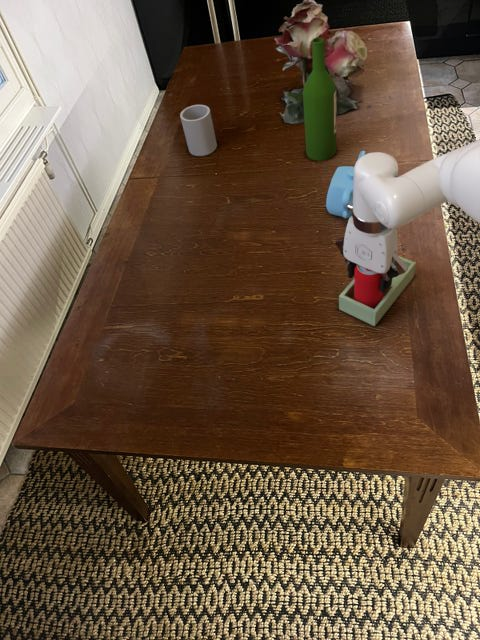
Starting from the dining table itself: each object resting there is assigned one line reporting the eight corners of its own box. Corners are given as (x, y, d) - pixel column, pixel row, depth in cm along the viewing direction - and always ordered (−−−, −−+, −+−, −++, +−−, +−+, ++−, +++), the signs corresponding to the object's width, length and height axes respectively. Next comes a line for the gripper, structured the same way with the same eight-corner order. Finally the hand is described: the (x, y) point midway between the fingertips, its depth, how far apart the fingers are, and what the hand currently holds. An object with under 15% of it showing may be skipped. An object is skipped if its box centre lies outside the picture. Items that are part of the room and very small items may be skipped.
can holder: (413, 276, 122) (416, 262, 119) (374, 326, 115) (375, 313, 111) (378, 262, 127) (379, 248, 123) (338, 309, 119) (338, 295, 116)
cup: (186, 143, 171) (178, 109, 162) (213, 136, 172) (206, 101, 162) (191, 158, 165) (182, 124, 156) (219, 151, 166) (212, 116, 157)
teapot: (384, 186, 144) (387, 149, 135) (368, 230, 134) (370, 193, 125) (339, 181, 148) (339, 145, 139) (321, 223, 138) (320, 187, 129)
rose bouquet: (373, 107, 169) (378, 5, 146) (285, 128, 169) (276, 30, 146) (348, 71, 185) (349, -25, 162) (267, 90, 185) (257, -3, 162)
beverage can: (382, 292, 119) (385, 254, 110) (382, 313, 116) (385, 276, 106) (354, 291, 121) (355, 254, 112) (353, 312, 117) (354, 275, 108)
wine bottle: (339, 157, 155) (340, 43, 130) (309, 163, 155) (304, 51, 130) (332, 141, 161) (331, 29, 136) (303, 147, 161) (296, 36, 136)
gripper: (322, 213, 102) (324, 276, 116) (405, 245, 94) (396, 309, 107) (344, 191, 105) (343, 255, 119) (425, 220, 97) (414, 285, 110)
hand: (368, 280), depth 113 cm, fingers open, 7 cm apart
